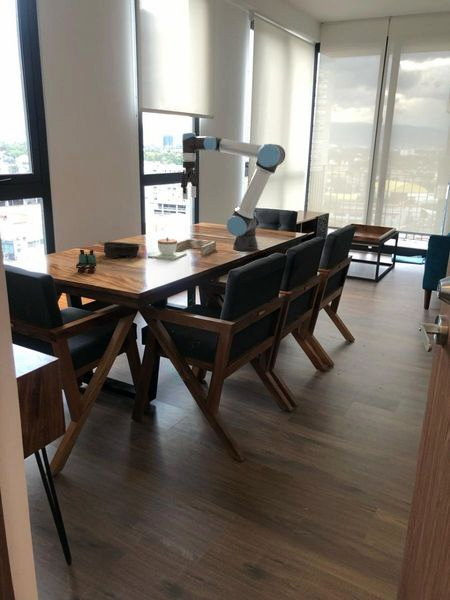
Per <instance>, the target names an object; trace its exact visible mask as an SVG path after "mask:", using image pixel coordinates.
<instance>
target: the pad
mask: <svg viewBox="0 0 450 600" xmlns="http://www.w3.org/2000/svg"><path fill="white" fill-rule="evenodd" d="M184 256H187V252H182V251H178V252H174V253H173V255H162V253H161V252H160V251H159V250H158V251H157V252H153V253H151V254H148V255H147V258H151V259H159V260H168V261H176V260H178V259H180V258H183V257H184Z"/></svg>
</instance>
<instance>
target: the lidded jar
mask: <svg viewBox="0 0 450 600" xmlns="http://www.w3.org/2000/svg"><path fill="white" fill-rule="evenodd" d="M177 242H178V240H177V239H173V238H169V237H166V238H162V239H158V240H157V249H158V252H159V251H160V252H161V253H162V255H173V253H174V252H175V251H176V248H177Z"/></svg>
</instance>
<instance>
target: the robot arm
mask: <svg viewBox="0 0 450 600" xmlns="http://www.w3.org/2000/svg"><path fill="white" fill-rule="evenodd" d="M181 142H182V155H181V156H182V160H183V161H182V168H183V169H182V177H181V183H180V188H182V200H188V197H189V196H188V193H189V192H188V191H189V190H188V184H189V181H190V183H191V185H190V187H191V190H190V193H191V194H190V195H191V196H190V197H191V198H196V197H197V187H198V179H197V173H196V167H197V163H196V159H197V155H196V154H197V151H209V152H210V151H213V152H220V153H224V154H225V153H226V154H230V155H236V156H240V157H245V158H252V159H256V162H255V164H254V165H255V170H254V173H253V176H252V177H251V179H250V182H249V184H248V186H247V188H246V191H245V193H244V195H243V197H242V199H241V202H240V204H239V206H238V207H236V208H234V211H233V212H232V215H231V216H230V217H229V218H228V219H227V221H226V229H227V231H228V233H230V235H232V236H235V240H234V242H233V245H232V248H233V250H235V251H240V252H253V251H255V252H256V251H257V249H258V250H259V245H258V241H257V237H256V233H257V232H256V231H257V218H258V217H257V212H255V209H256V207H257V205H258V203H259V200H260V198H261V196H262V195H263V191H264V189H265V187H266V185H267V183H268V182H269V179H270V176H271V175H273V174H275V172H276V170H277V169H278V166H279V165H282V164H283V163H284V161H285V159H286V150H285V149H284V148H283V147H282V146H281V145H280V144H275V143H274V144H273V143H267V144H263V145H260V144H255V143H248V142H244V141H237V140H232V139H226V138H221V137H220V138H219V137H216V136H210V135H209V136H208V135H207V136H197V135H196V133H195V132H184V133H182V141H181Z"/></svg>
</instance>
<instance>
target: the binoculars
mask: <svg viewBox="0 0 450 600" xmlns="http://www.w3.org/2000/svg"><path fill="white" fill-rule="evenodd" d="M79 252H80V253H79V254H78V262H77V263H76V264H75V268H76V269H77V274H84V273H85V272H87V273H88V274H93V273H95V271H97V269H96V267H97V266H98V265H97V258H96V254H95V253H94V252H95V250H94V249H90V250H89V251H88V252H89V253H85V249H79Z"/></svg>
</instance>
